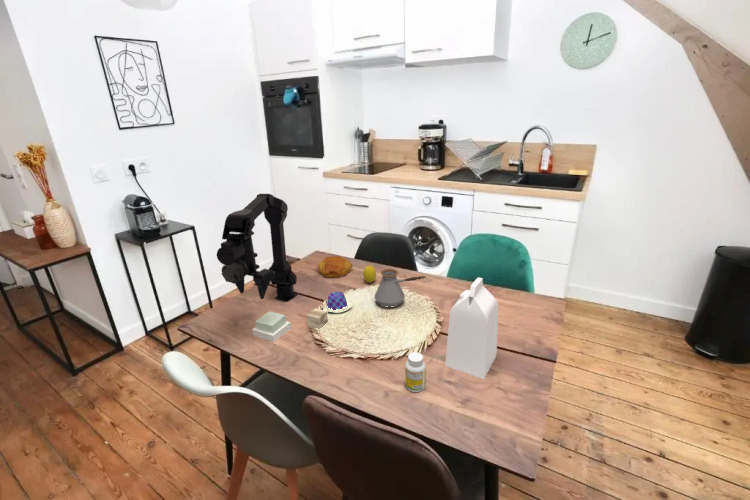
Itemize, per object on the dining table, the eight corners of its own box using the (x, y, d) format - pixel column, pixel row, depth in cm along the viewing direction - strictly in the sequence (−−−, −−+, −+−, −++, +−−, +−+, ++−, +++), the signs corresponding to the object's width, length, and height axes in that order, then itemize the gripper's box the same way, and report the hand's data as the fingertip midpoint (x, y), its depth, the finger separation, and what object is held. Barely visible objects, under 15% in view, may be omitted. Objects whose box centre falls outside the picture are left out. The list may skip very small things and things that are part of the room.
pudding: (315, 306, 147) (314, 294, 145) (340, 296, 154) (340, 284, 152) (333, 318, 138) (332, 306, 137) (359, 307, 146) (358, 295, 144)
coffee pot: (368, 304, 146) (367, 269, 141) (385, 292, 155) (385, 258, 150) (417, 321, 135) (418, 283, 129) (433, 307, 143) (434, 270, 138)
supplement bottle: (417, 395, 101) (418, 366, 97) (401, 387, 104) (401, 357, 101) (428, 384, 105) (429, 355, 101) (412, 376, 108) (412, 348, 104)
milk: (484, 379, 106) (491, 296, 96) (445, 365, 112) (448, 286, 102) (496, 355, 115) (504, 277, 106) (459, 344, 121) (464, 269, 112)
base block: (271, 323, 137) (270, 316, 136) (291, 329, 133) (290, 322, 132) (253, 336, 130) (252, 329, 129) (274, 343, 126) (272, 335, 125)
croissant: (323, 270, 184) (319, 254, 181) (354, 266, 181) (351, 250, 179) (315, 282, 170) (311, 266, 168) (349, 278, 168) (346, 261, 165)
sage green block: (270, 318, 135) (269, 311, 133) (286, 322, 132) (285, 315, 131) (256, 329, 129) (255, 321, 128) (273, 333, 126) (272, 325, 125)
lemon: (378, 280, 166) (377, 263, 163) (374, 286, 161) (373, 268, 158) (366, 279, 168) (365, 262, 165) (361, 284, 163) (360, 267, 160)
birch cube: (316, 320, 137) (315, 308, 136) (328, 323, 135) (327, 311, 133) (308, 327, 133) (306, 314, 131) (319, 330, 131) (318, 318, 129)
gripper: (203, 256, 119) (213, 300, 125) (246, 267, 111) (254, 313, 117) (231, 244, 128) (239, 286, 134) (273, 253, 120) (279, 297, 125)
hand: (252, 295), depth 127 cm, fingers open, 9 cm apart
